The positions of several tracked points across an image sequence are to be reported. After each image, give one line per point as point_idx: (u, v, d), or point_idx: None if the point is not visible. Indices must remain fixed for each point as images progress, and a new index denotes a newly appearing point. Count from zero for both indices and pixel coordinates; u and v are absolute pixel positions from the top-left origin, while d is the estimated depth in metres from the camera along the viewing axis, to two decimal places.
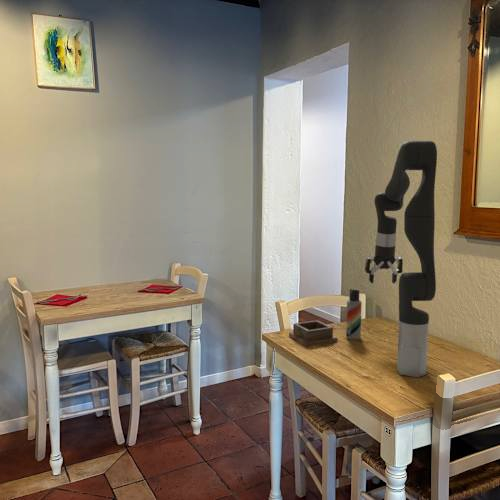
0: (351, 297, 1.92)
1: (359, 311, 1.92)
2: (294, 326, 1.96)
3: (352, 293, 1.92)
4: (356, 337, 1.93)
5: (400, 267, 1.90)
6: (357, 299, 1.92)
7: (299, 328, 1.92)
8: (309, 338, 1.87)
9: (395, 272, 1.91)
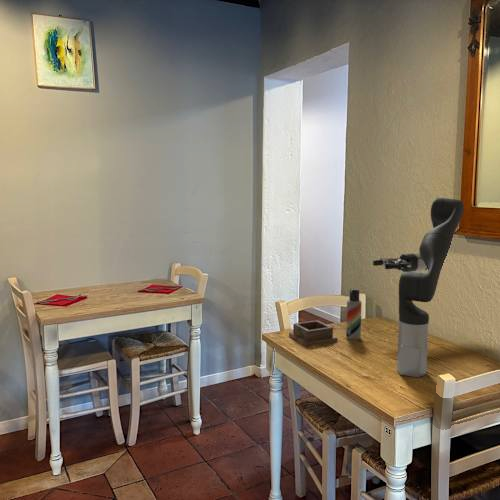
0: (351, 297, 1.92)
1: (359, 311, 1.92)
2: (294, 326, 1.96)
3: (352, 293, 1.92)
4: (356, 337, 1.93)
5: (403, 263, 1.91)
6: (357, 299, 1.92)
7: (299, 328, 1.92)
8: (309, 338, 1.87)
9: (396, 262, 1.92)
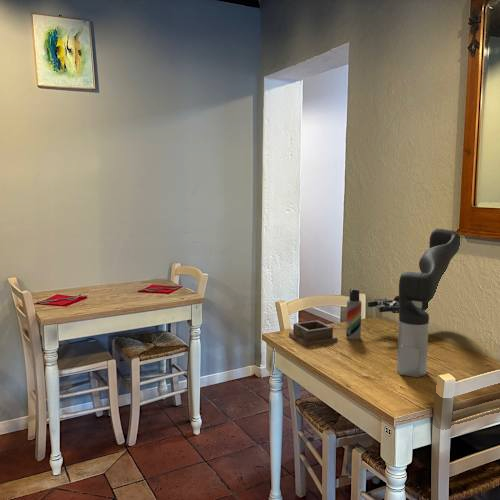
0: (351, 297, 1.92)
1: (359, 311, 1.92)
2: (294, 326, 1.96)
3: (352, 293, 1.92)
4: (356, 337, 1.93)
5: (397, 306, 1.93)
6: (357, 299, 1.92)
7: (299, 328, 1.92)
8: (309, 338, 1.87)
9: (390, 305, 1.94)
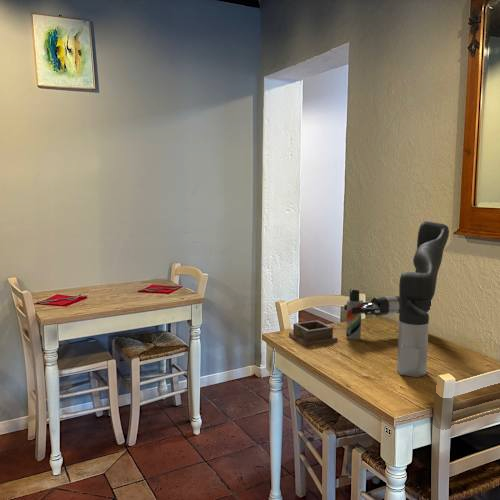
0: (351, 297, 1.92)
1: None
2: (294, 326, 1.96)
3: (352, 293, 1.92)
4: (356, 337, 1.93)
5: (370, 308, 1.90)
6: (357, 299, 1.92)
7: (299, 328, 1.92)
8: (309, 338, 1.87)
9: (362, 307, 1.92)
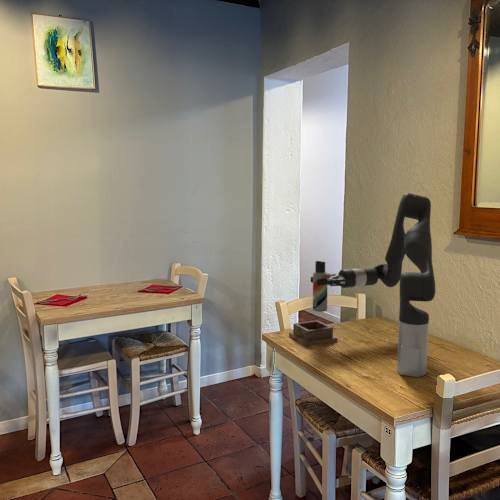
0: (317, 269, 1.90)
1: None
2: (294, 326, 1.96)
3: (317, 264, 1.89)
4: (322, 309, 1.90)
5: (335, 279, 1.88)
6: (323, 271, 1.89)
7: (299, 328, 1.92)
8: (309, 338, 1.87)
9: None
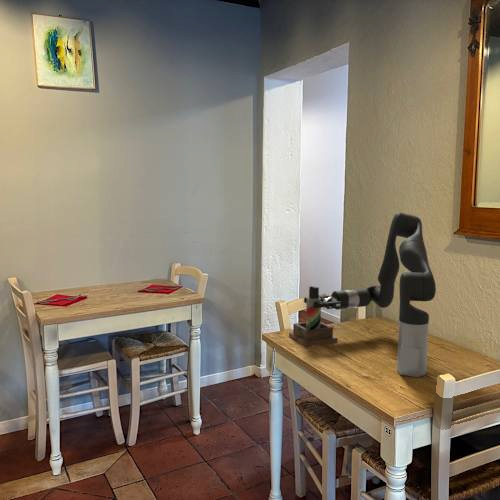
0: (310, 294, 1.91)
1: (318, 308, 1.90)
2: (294, 326, 1.96)
3: (311, 290, 1.90)
4: None
5: (331, 302, 1.88)
6: (316, 296, 1.90)
7: (299, 328, 1.92)
8: (309, 338, 1.87)
9: (324, 301, 1.89)
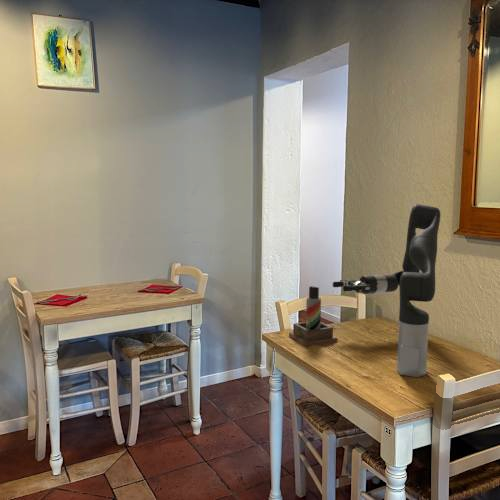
0: (310, 294, 1.91)
1: (318, 308, 1.90)
2: (294, 326, 1.96)
3: (311, 290, 1.90)
4: None
5: (361, 285, 1.91)
6: (316, 296, 1.90)
7: (299, 328, 1.92)
8: (309, 338, 1.87)
9: (354, 284, 1.92)
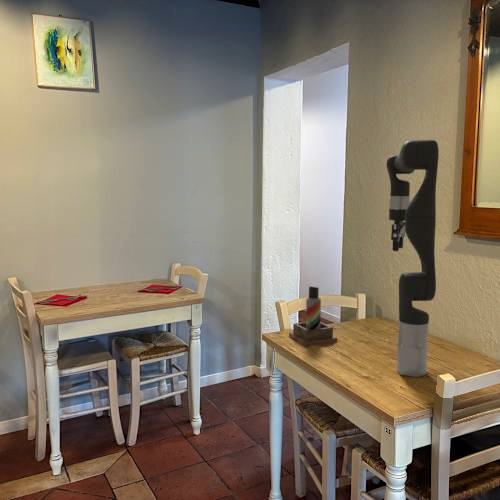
0: (310, 294, 1.91)
1: (318, 308, 1.90)
2: (294, 326, 1.96)
3: (311, 290, 1.90)
4: None
5: None
6: (316, 296, 1.90)
7: (299, 328, 1.92)
8: (309, 338, 1.87)
9: None
